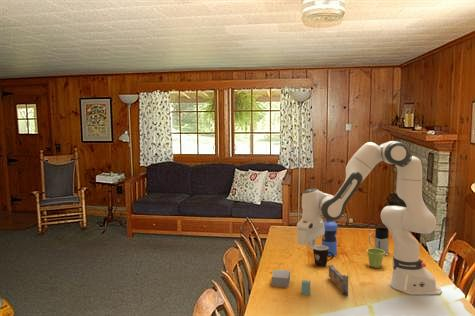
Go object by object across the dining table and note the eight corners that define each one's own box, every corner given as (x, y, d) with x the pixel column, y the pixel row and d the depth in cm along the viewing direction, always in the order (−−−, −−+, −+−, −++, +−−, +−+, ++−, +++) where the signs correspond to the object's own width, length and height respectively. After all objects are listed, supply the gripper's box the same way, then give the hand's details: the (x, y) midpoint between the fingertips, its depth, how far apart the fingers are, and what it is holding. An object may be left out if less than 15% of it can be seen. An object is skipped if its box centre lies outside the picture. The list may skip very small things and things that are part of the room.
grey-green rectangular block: (310, 293, 181) (310, 280, 180) (310, 295, 179) (310, 282, 178) (301, 292, 182) (301, 280, 181) (301, 294, 180) (301, 282, 179)
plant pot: (385, 269, 208) (386, 254, 207) (367, 268, 210) (367, 253, 209) (382, 263, 217) (383, 248, 216) (365, 262, 219) (365, 247, 218)
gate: (346, 291, 180) (346, 279, 180) (342, 291, 180) (342, 279, 180) (332, 276, 198) (332, 265, 198) (328, 276, 198) (328, 265, 197)
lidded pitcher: (392, 254, 231) (392, 230, 230) (373, 257, 226) (374, 233, 225) (382, 250, 240) (382, 226, 238) (363, 253, 234) (364, 229, 233)
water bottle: (335, 251, 238) (336, 212, 235) (338, 257, 229) (338, 216, 226) (320, 251, 239) (320, 212, 236) (322, 256, 229) (322, 215, 227)
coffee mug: (309, 263, 219) (310, 246, 218) (322, 261, 222) (322, 244, 221) (321, 270, 208) (321, 252, 207) (334, 268, 211) (334, 250, 210)
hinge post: (347, 293, 180) (348, 275, 179) (348, 296, 177) (348, 277, 176) (342, 293, 180) (342, 274, 179) (342, 295, 178) (343, 276, 177)
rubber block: (290, 280, 197) (290, 270, 196) (288, 288, 187) (288, 278, 187) (274, 278, 199) (274, 269, 198) (271, 286, 189) (271, 277, 189)
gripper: (316, 215, 200) (317, 240, 201) (294, 225, 185) (295, 252, 187) (327, 217, 196) (328, 243, 197) (305, 227, 181) (306, 255, 182)
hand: (312, 248), depth 192 cm, fingers closed
